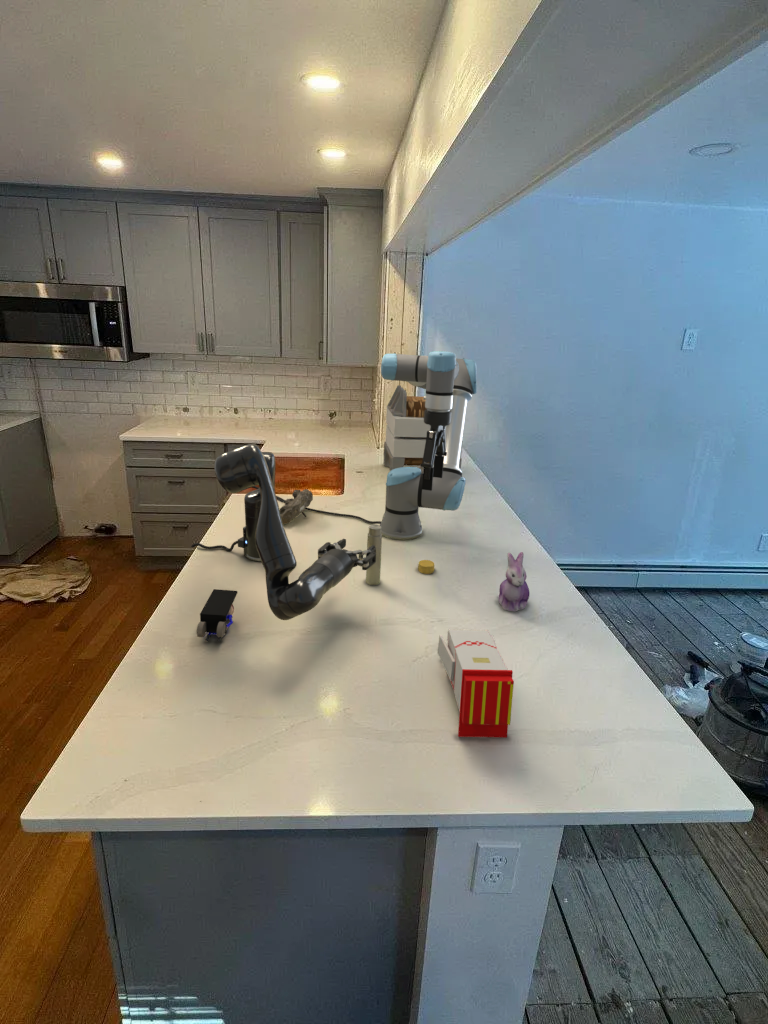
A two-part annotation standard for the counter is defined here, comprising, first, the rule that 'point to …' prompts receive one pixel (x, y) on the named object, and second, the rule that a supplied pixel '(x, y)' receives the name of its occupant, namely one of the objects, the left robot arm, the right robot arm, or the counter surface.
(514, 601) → the figurine
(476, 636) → the toy
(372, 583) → the jar
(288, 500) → the fossil
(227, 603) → the black wheeled vehicle
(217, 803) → the counter surface
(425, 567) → the lid
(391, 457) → the white storage crate
